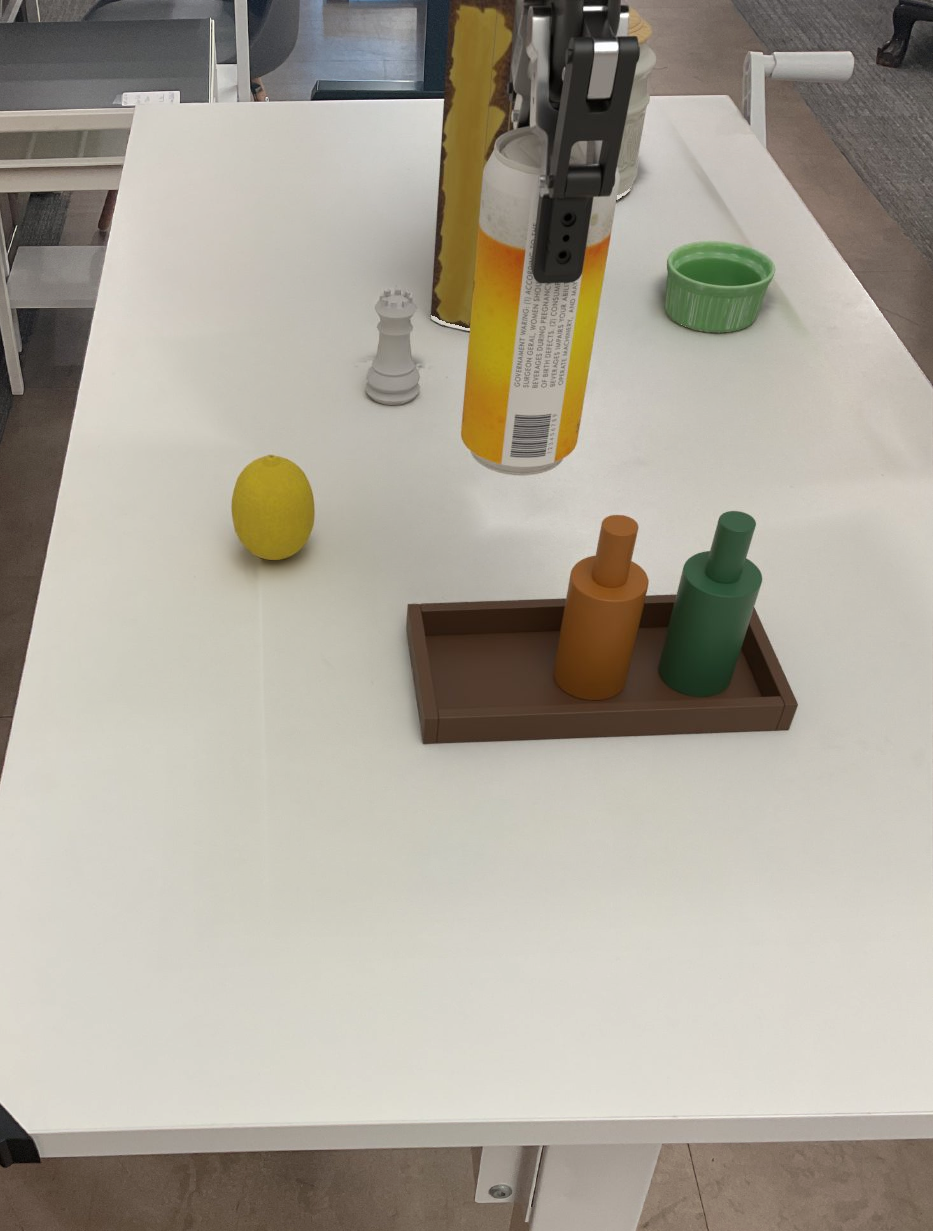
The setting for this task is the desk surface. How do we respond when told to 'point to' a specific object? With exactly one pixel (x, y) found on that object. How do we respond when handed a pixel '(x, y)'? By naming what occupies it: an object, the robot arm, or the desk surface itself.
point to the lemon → (273, 508)
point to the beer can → (528, 320)
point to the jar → (635, 104)
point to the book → (469, 143)
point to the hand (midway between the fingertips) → (543, 246)
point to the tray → (540, 710)
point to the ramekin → (716, 285)
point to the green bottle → (712, 611)
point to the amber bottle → (602, 615)
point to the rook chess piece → (394, 351)
